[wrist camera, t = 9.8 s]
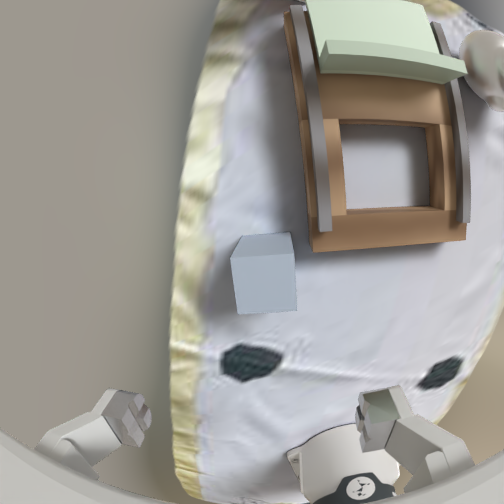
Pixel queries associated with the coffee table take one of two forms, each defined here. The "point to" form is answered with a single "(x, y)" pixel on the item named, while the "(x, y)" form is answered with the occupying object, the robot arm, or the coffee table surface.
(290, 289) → the block
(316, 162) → the wooden box frame
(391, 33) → the lid
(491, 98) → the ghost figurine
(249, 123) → the coffee table surface
